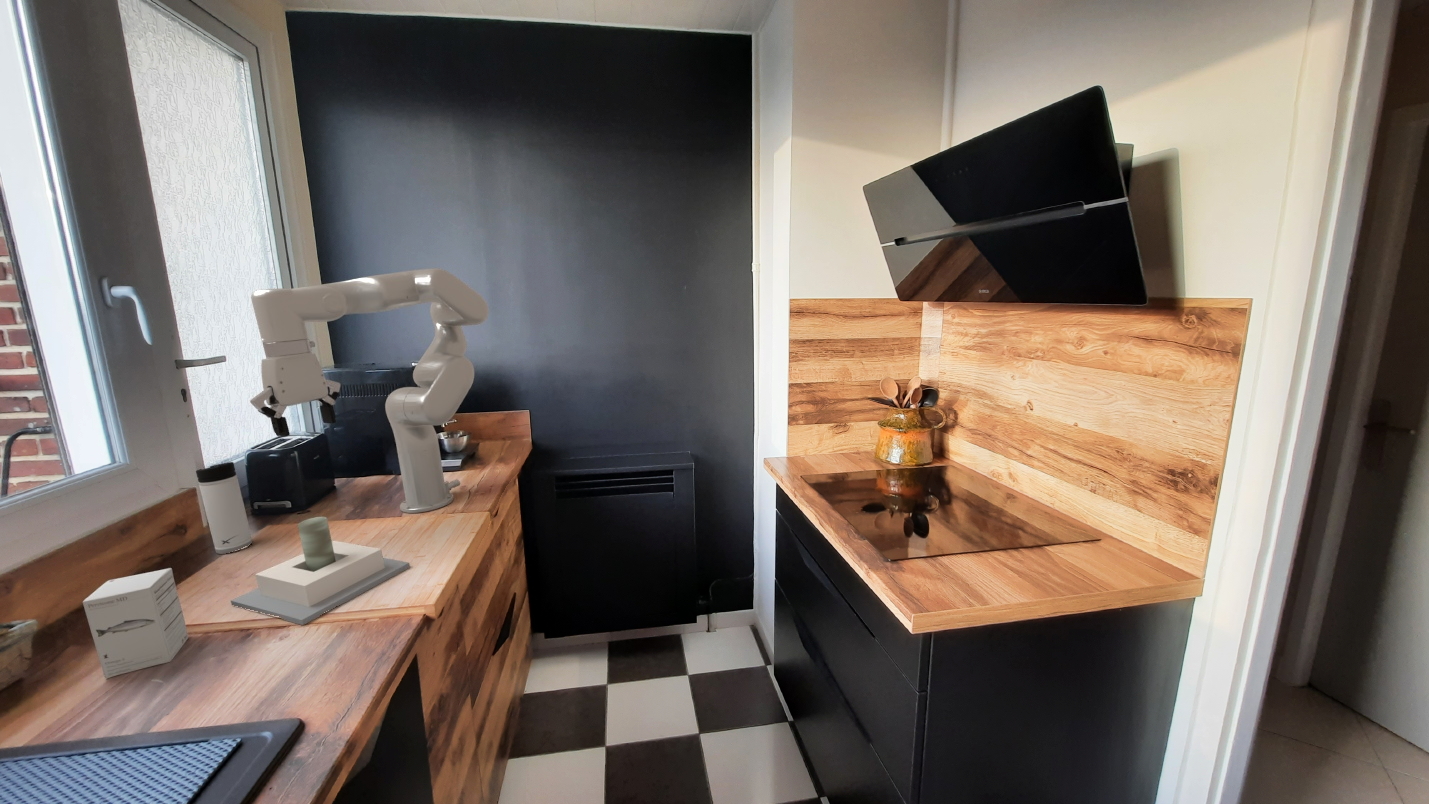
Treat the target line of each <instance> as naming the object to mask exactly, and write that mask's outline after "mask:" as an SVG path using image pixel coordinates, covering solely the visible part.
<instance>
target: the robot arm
mask: <svg viewBox="0 0 1429 804" xmlns="http://www.w3.org/2000/svg"><path fill="white" fill-rule="evenodd" d="M250 295H251V296H250V299H251V304H252V308H253V311H254V312H253V313H254V315H255V319H256V324H257V327H258V331H259V335H260V339H261V343H262V346H263V347H262V348H263V350H264V351H263V352H264V355H265V358H263V359H262V358H261V370H260V371H261V381H262V389H263V390H262V391H261V392H259V393H258V394H257V395H256V396H254V397H253V398H251V399H250V400H249V402H250V404H251V405H252V406H253V407H254V408H255V409H256V410H257V411H258V413H260V414H262V415H264V416H266V417H267V418H268V419H270V422H271V425H272V429H273V432H274V434H275V436H277V437H289V436H290V435H291V433H290V428H289V426H288V421H287V418H286V416H283V414H284V413H285V411H286V409H287V407H292V406H297V405H300V404H306V403H310V402H313V401H317V402H318V403H320V404H321V405H320V406H319V410H320V414H321V418H322V422H323V423H324V424H331V425H332V424H336V423H337V419H336V412H335V407H334V405H336V400H337V399H338V397H339V396H340V393H339V392H340V389H341V383H340V382H338V381H334V380H330V379H327V378H326V377H325V374H324V371H323V368H322V366H321V363H320V361H319V359H318V357H317V356H316V353H314V352H312V351H313V349H312V348H315V347H316V343H315V342H314V341H313V340H310V338H309V335H308V330H307V327H306V323H323V322H332V321H336V320H338V319H341V318H342V317H343V316H344V315H355V314H356V315H357V314H374V313H380V312H382V313H383V312H387V311H391V310H396V309H401V308H407V307H410V306H411V307H412V306H417V305H421V304H427V303H428V304H429V303H430V304H431V305H430V308H429V312H430V318H431V321H432V323H433V324H432V325H433V327H434V337H433V340H432V341H431V343H430V345H429V346H428V347H427V349H426V351H425V352H424V353H423V355H422V356H421V358H420V359H419V360H418V361H417V364H415V365H416V366H415V367H414V370H413V371H412V372H413V373H412V378H413V382H414V383H415V384H416V385H417V386H416V387H415V386H405V387H400V388H397V389H395V390H393V391H392V392H391V393H390V394H388V396H387V398H386V401H385V404H384V406H385V407H384V408H385V414H386V416H387V419H388V422H389V423H390V427H391V429H392V433H393V436H394V442H395V444H396V445H395V446H396V453H397V458H398V463H399V470H400V474H401V480H402V487H403V492H404V497H405V500H404V501H402V502H401V503H400V504H399V510H400V511H401V512H403V513H408V514H416V513H417V514H418V513H423V512H430V511H434V510H437V509H441V508H443V507H445V506H447V505H449V504H451V503H452V502H453V501H454V499H455V498H454V494H453V493H452V492H450V491H452V489H455V488H457V487H459V486H460V485H461V481H460V480H459V479H454V480H452V481H450V482H449V481H448V480H445V475H444V472H443V463H442V458H441V457H442V456H441V451H440V444H439V439H438V435H437V432H436V430H435V427H434V426H441V425H444V424H446V423H448V422H449V421H450V420H452V419H453V417H454V415H455V414H456V412H457V411H458V409H459V408H460V405H462V403H463V401H464V399H465V398H466V396H467V395H468V393H469V390H470V389H471V387H472V385H473V383H474V379H475V368H474V365H473V363H472V362H471V360H470V359H469V358H468V357H466V356H464V355H466V354H465V353H466V351H467V347H468V346H467V340H466V339H467V338H466V336H465V332H464V329H463V327H464V326H465V327H466V326H477V325H481V324H483V323H484V322H485V321H486V320H487V319H488V316H489V307H488V303H487V302H486V300H485V299H484V297H483V296H482V295H481V294H480V293H478V292H477V291H476V290H474V289H473V288H472V287H470V286H469V285H468V284H467V283H465V282H464V281H463V280H461V279H460V278H458V277H457V276H456V275H454V274H452V273H451V272H449V271H447V270H445V269H443V268H440V267H439V268H438V267H437V268H436V267H435V268H424V269H413V270H406V271H405V270H404V271H399V272H398V271H397V272H391V273H384V274H377V275H369V276H362V277H359V278H353V279H349V280H348V279H347V280H343V281H337V282H331V283H324V284H323V283H322V284H318V285H317V284H314V285H309V286H302V287H294V288H293V287H292V288H286V287H285V288H284V287H283V288H267V289H266V288H265V289H264V288H263V289H262V288H261V289H257V290H254V291H253V292H252V293H251V294H250ZM328 388H330V389H328ZM265 401H266V403H265ZM267 405H268V406H267ZM269 406H270V407H269Z"/></svg>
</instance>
